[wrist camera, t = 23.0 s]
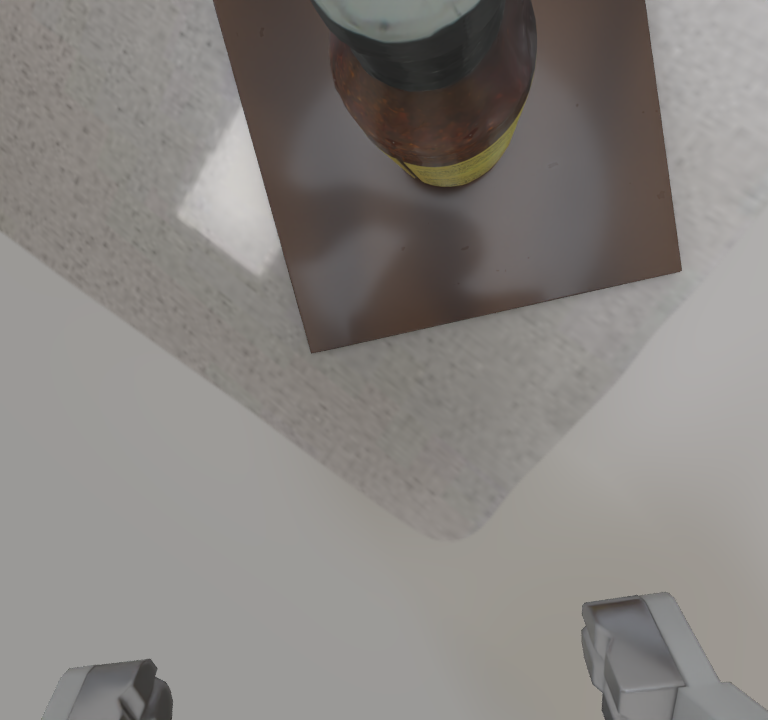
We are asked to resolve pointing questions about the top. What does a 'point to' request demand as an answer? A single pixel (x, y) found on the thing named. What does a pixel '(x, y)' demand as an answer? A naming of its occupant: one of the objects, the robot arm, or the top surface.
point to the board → (464, 202)
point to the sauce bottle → (434, 78)
